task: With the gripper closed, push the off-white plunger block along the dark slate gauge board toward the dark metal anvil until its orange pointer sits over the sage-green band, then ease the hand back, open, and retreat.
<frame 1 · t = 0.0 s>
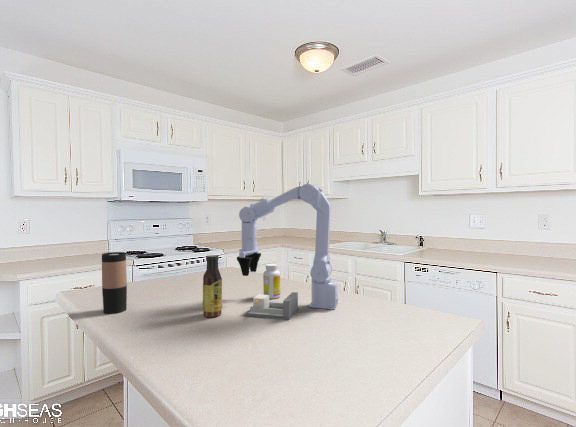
hand: (249, 273, 131), 10 cm above the counter, tool pointing down, fingers open, 7 cm apart
gauge board: (272, 312, 116), on the counter
supplement bottle: (271, 297, 136), on the counter
travel mug: (115, 311, 119), on the counter
sauce bottle: (212, 315, 114), on the counter
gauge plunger: (259, 303, 116), point 3 cm above the counter, slide at 0.0 cm
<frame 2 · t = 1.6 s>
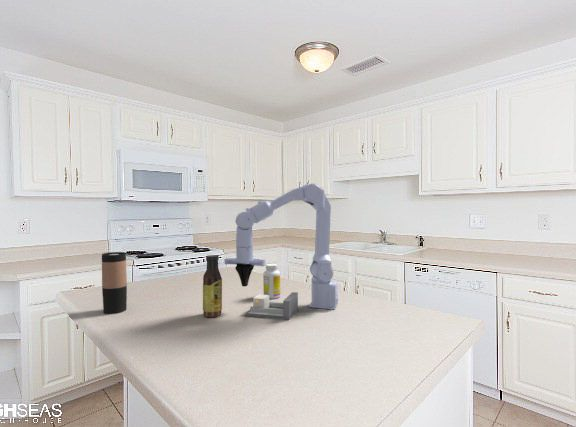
hand: (244, 285, 119), 9 cm above the counter, tool pointing down, fingers closed
nothing on the counter moved.
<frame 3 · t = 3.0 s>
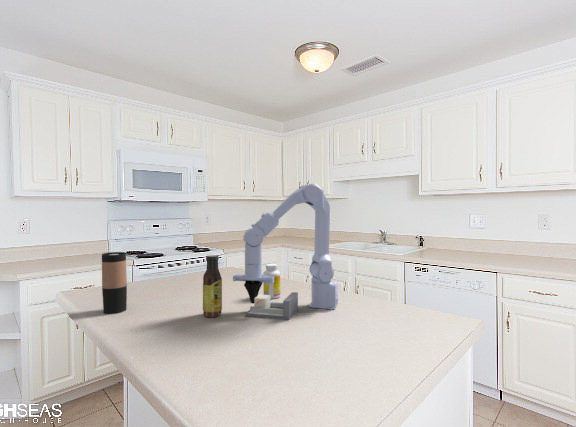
hand: (253, 302, 118), 3 cm above the counter, tool pointing down, fingers closed
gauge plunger: (261, 303, 116), point 3 cm above the counter, slide at 0.4 cm, touching gripper
everything else where it was.
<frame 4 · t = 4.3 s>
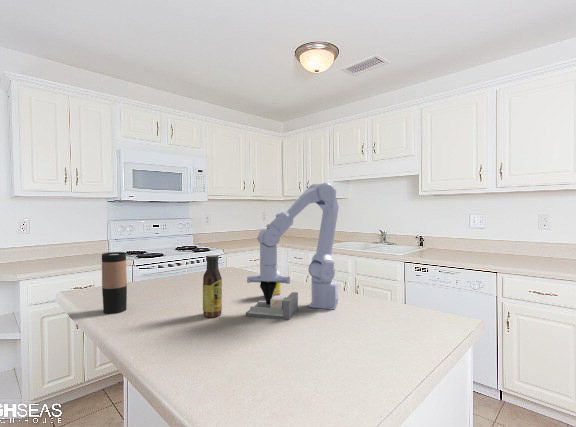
hand: (268, 303, 116), 3 cm above the counter, tool pointing down, fingers closed
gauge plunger: (277, 305, 114), point 3 cm above the counter, slide at 6.1 cm, touching gripper
everything else where it was.
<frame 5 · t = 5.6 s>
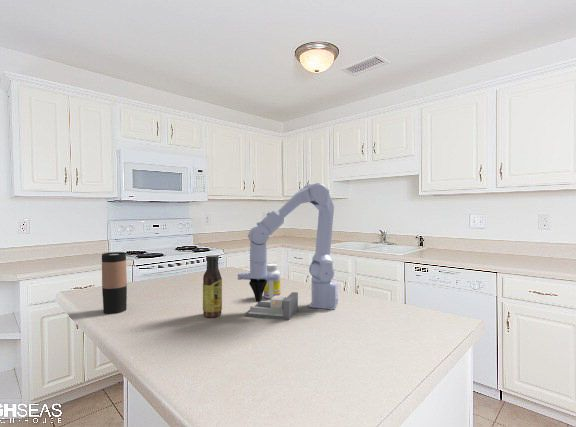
hand: (258, 301, 117), 4 cm above the counter, tool pointing down, fingers closed
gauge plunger: (277, 305, 114), point 3 cm above the counter, slide at 6.1 cm
everything else where it was.
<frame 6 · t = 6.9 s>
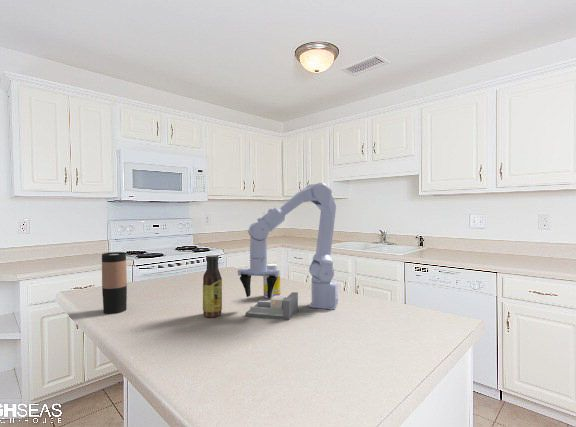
hand: (258, 296, 118), 5 cm above the counter, tool pointing down, fingers open, 7 cm apart
nothing on the counter moved.
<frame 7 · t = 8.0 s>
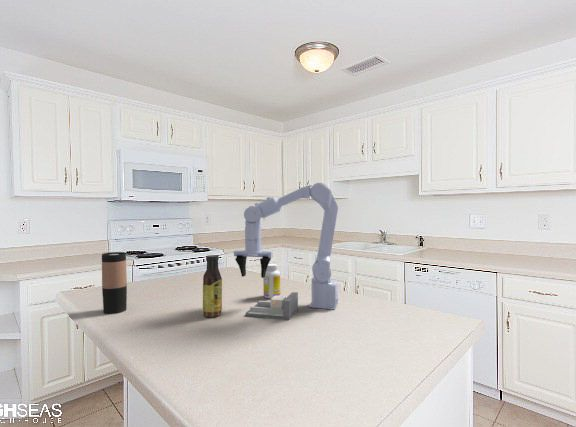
hand: (253, 276, 125), 10 cm above the counter, tool pointing down, fingers open, 7 cm apart
nothing on the counter moved.
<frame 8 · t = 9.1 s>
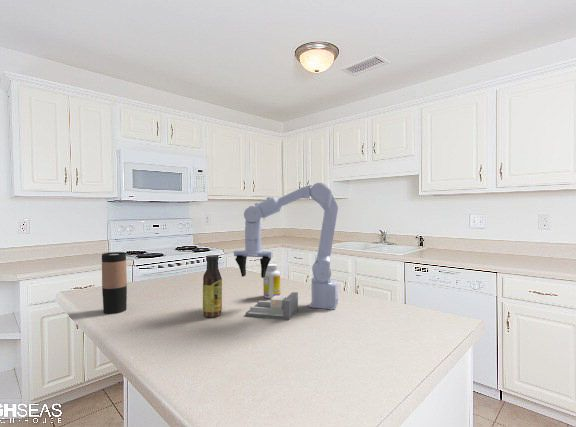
hand: (253, 276, 125), 10 cm above the counter, tool pointing down, fingers open, 7 cm apart
nothing on the counter moved.
at the end: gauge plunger slide at 6.1 cm; the gripper is holding nothing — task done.
